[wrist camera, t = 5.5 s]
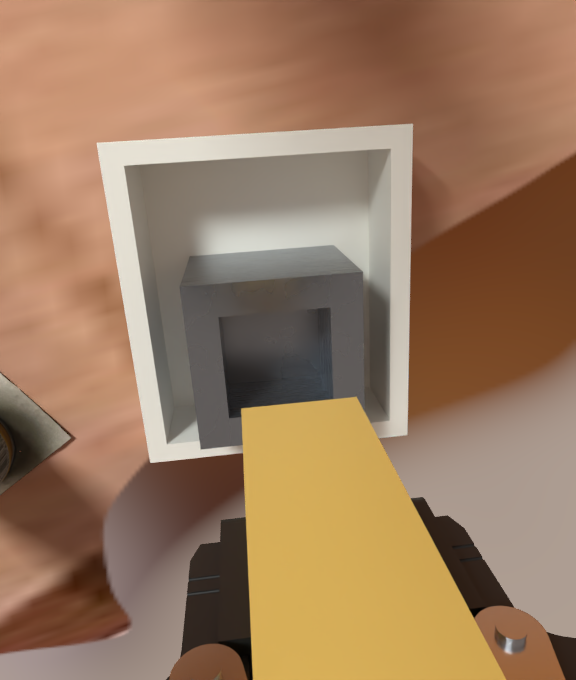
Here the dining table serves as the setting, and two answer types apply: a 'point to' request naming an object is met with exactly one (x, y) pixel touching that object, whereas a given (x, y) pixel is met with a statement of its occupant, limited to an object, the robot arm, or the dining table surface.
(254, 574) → the plug
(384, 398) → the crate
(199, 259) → the socket
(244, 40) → the dining table surface
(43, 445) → the condiment
